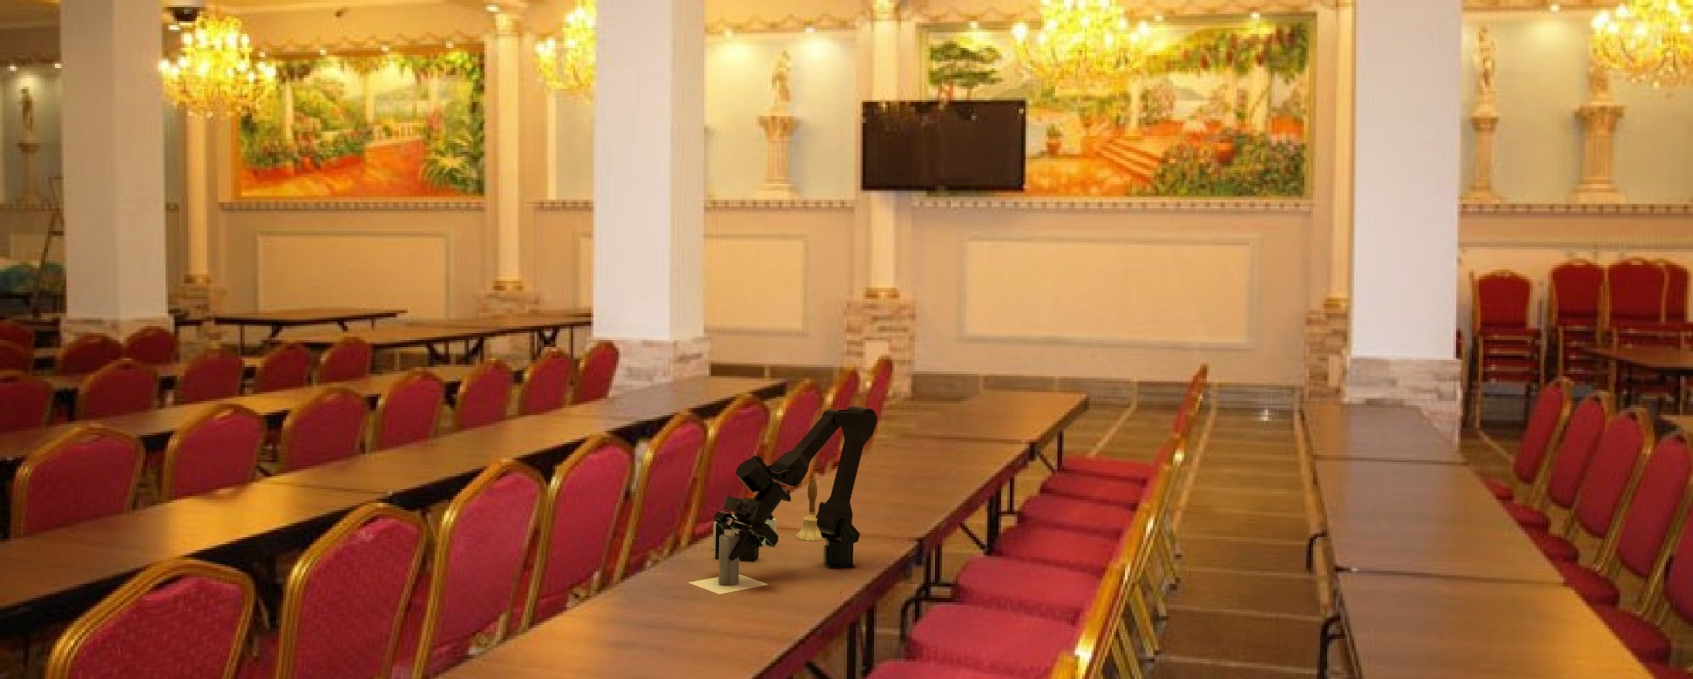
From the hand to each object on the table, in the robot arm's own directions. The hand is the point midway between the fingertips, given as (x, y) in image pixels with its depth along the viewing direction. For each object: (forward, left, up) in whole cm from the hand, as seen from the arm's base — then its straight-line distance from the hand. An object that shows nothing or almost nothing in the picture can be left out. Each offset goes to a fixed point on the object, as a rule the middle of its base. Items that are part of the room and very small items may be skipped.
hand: (724, 557), depth 307 cm
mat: (-1, -1, -7) cm, 7 cm away
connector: (-1, -1, -6) cm, 6 cm away
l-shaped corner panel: (-12, -37, -7) cm, 39 cm away
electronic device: (-7, -24, -7) cm, 26 cm away
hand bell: (-31, -46, -7) cm, 56 cm away
